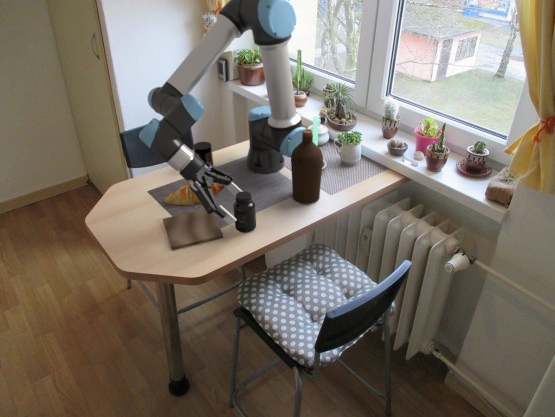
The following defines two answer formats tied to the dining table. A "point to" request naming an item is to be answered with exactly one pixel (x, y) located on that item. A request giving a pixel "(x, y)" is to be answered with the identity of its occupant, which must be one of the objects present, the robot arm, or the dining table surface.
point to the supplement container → (204, 151)
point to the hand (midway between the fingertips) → (239, 209)
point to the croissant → (189, 194)
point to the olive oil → (306, 170)
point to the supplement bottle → (244, 212)
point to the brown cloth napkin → (192, 229)
